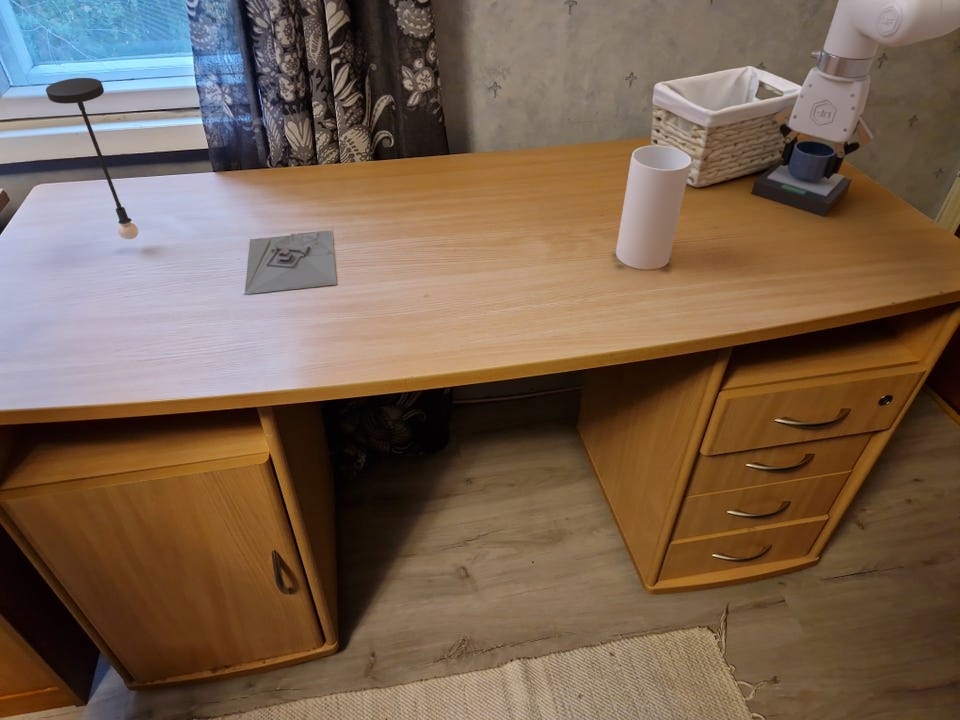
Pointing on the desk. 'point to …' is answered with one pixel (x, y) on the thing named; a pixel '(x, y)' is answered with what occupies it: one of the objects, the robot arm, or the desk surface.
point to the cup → (652, 206)
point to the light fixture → (91, 132)
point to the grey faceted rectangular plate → (290, 262)
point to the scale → (801, 189)
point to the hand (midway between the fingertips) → (808, 168)
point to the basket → (722, 122)
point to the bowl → (810, 159)
